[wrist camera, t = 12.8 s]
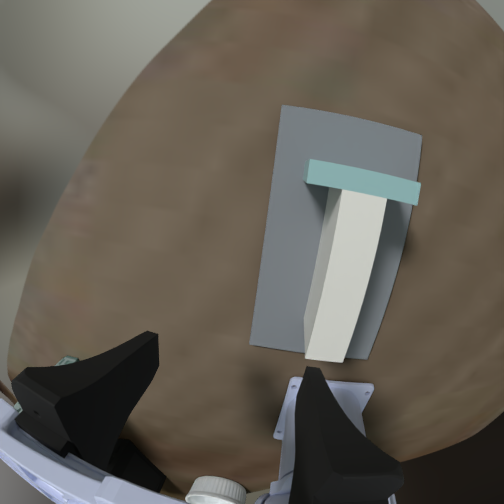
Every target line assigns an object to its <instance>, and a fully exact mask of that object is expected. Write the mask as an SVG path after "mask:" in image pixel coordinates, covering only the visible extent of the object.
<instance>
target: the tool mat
mask: <svg viewBox="0 0 504 504" xmlns="http://www.w3.org/2000/svg"><path fill="white" fill-rule="evenodd" d="M421 143H422V135H419V134H416V133H413V132H409V131H406V130H403V129H399V128H396V127H392V126H388V125H385V124H381V123H377V122H373V121H369V120H365V119H360V118H356V117H351V116H346V115H342V114H337V113H331V112H326V111H320V110H314V109H308V108H301V107H294V106H287V105H282V108H281V116H280V124H279V132H278V140H277V147H276V155H275V163H274V170H273V178H272V186H271V193H270V200H269V208H268V215H267V223H266V230H265V237H264V244H263V252H262V259H261V266H260V273H259V280H258V287H257V294H256V301H255V308H254V315H253V322H252V328H251V335H250V342H249V344H250V345H256V346H262V347H268V348H274V349H281V350H287V351H294V352H301V353H305V341H304V315H305V311H306V306H307V302H308V297H309V293H310V288H311V283H312V279H313V274H314V269H315V264H316V259H317V254H318V249H319V243H320V238H321V233H322V227H323V221H324V216H325V210H326V204H327V198H328V191H329V187H327V186H321V185H315V184H309V183H306V182H305V181H304V180H303V175H304V168H305V161H307V160H309V159H313V160H319V161H325V162H330V163H336V164H341V165H346V166H351V167H356V168H361V169H365V170H370V171H374V172H379V173H383V174H387V175H391V176H395V177H399V178H403V179H407V180H411V181H415V182H417V175H418V168H419V161H420V152H421ZM412 205H413V204H408V203H404V202H400V201H396V200H391V199H387V202H386V207H385V212H384V218H383V223H382V227H381V232H380V237H379V241H378V246H377V250H376V254H375V258H374V262H373V266H372V270H371V274H370V278H369V282H368V285H367V289H366V292H365V296H364V299H363V303H362V306H361V309H360V313H359V316H358V319H357V322H356V325H355V328H354V332H353V335H352V338H351V340H350V343H349V346H348V349H347V352H346V355H345V358H355V359H367V358H368V356H369V353H370V351H371V348H372V346H373V343H374V341H375V338H376V335H377V333H378V330H379V327H380V324H381V321H382V318H383V316H384V313H385V310H386V307H387V303H388V300H389V297H390V294H391V291H392V287H393V284H394V281H395V277H396V274H397V270H398V266H399V263H400V259H401V255H402V251H403V247H404V243H405V239H406V234H407V230H408V225H409V221H410V216H411V211H412Z"/></svg>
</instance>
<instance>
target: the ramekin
mask: <svg viewBox="0 0 504 504" xmlns="http://www.w3.org/2000/svg"><path fill="white" fill-rule="evenodd" d="M185 500H186V502H188V503H191V504H245V500H246V490H245V488H244V487H243V486H242V485H240V484H239V483H237V482H235V481H232V480H230V479H226V478H222V477H217V476H202V477H199V478H197V479H196V480H195V482H194V484H193V486H192V488H191V490H190V492H189V494H187V496H186V498H185Z"/></svg>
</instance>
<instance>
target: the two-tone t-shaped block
mask: <svg viewBox="0 0 504 504" xmlns="http://www.w3.org/2000/svg"><path fill="white" fill-rule="evenodd" d="M303 180H304V181H305V182H306V183H309V184H315V185H321V186H327V187H329V191H328V198H327V204H326V210H325V216H324V221H323V227H322V233H321V238H320V243H319V249H318V254H317V259H316V264H315V269H314V274H313V279H312V283H311V288H310V293H309V297H308V302H307V306H306V311H305V315H304V341H305V359H313V360H321V361H330V362H340V363H343V360H344V358H345V355H346V352H347V349H348V346H349V343H350V340H351V338H352V335H353V332H354V328H355V325H356V322H357V319H358V316H359V313H360V309H361V306H362V303H363V299H364V296H365V292H366V289H367V285H368V282H369V278H370V274H371V270H372V266H373V262H374V258H375V254H376V250H377V246H378V241H379V237H380V232H381V227H382V223H383V218H384V212H385V207H386V202H387V199H391V200H396V201H400V202H404V203H408V204H413V205H417V203H418V198H419V192H420V186H421V183H418V182H415V181H411V180H407V179H403V178H399V177H395V176H391V175H387V174H383V173H379V172H374V171H370V170H365V169H361V168H356V167H351V166H346V165H341V164H336V163H330V162H325V161H319V160H313V159H309V160H307V161H305V168H304V175H303Z"/></svg>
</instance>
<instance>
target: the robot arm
mask: <svg viewBox="0 0 504 504" xmlns="http://www.w3.org/2000/svg"><path fill="white" fill-rule="evenodd" d="M158 367H159V346H158V334H156V333H153V332H149V331H146V332H144V333H142V334H140V335H138V336H136V337H134V338H133V339H131V340H129V341H127V342H125V343H123V344H121V345H119V346H117V347H115V348H113V349H111V350H109V351H106V352H104V353H102V354H100V355H97V356H94V357H92V358H88V359H85V360H82V361H78V362H74V363H70V364H65V365H59V366H50V367H27V368H26V369H24V370H23V371H22V372H21V373H20V374H19V375H18V376H17V377H16V378H14V379H13V380H12V383H11V384H12V389H13V392H14V394H15V396H16V398H17V400H18V402H19V404H20V406H21V408H22V412H21V413H20V414H19V413H18V411H17V410H16V409H15V408H14V407H12V406H11V405H10V404H9V403H7V402H6V401H5V400H3V399H2V398H1V399H0V458H1V459H2V460H3V461H4V462H5V463H6V464H7V465H8V466H10V467H11V468H12V469H13V470H14V471H15V472H16V473H18V474H19V475H20V476H21V477H22V478H24V479H25V480H26V481H27V482H28V483H30V484H31V485H32V486H33V487H35V488H36V489H37V490H38V491H40V492H41V493H43V494H44V495H45V496H46V497H48V498H49V499H51V500H52V501H53V502H55V503H56V504H191V503H188V502H185V501H182V500H179V499H175V498H172V497H169V496H166V495H163V494H160V493H157V492H154V491H152V490H149V489H146V488H144V487H141V486H139V485H136V484H134V483H131V482H129V481H126V480H124V479H121V478H118V477H115V476H113V475H111V474H109V473H107V472H105V471H106V468H107V465H108V462H109V459H110V457H111V454H112V452H113V449H114V447H115V444H116V442H117V440H118V437H119V435H120V433H121V431H122V429H123V427H124V425H125V422H126V420H127V418H128V417H129V415H130V413H131V411H132V410H133V408H134V407H135V405H136V404H137V402H138V401H139V400H140V398H141V397H142V395H143V394H144V392H145V391H146V389H147V388H148V386H149V385H150V383H151V381H152V380H153V378H154V376H155V373H156V371H157V369H158ZM293 385H296V386H293ZM373 391H374V385H373V384H371V383H354V382H341V381H329V380H325V378H324V376H323V374H322V372H321V370H320V368H315V367H308V366H307V367H306V370H305V373H304V376H303V378H302V377H292V378H291V379H290V382H289V385H288V389H287V392H286V395H285V399H284V402H283V406H282V409H281V412H280V415H279V419H278V422H277V425H276V428H275V431H274V435H273V437H274V438H275V439H280V440H282V450H281V460H280V470H279V480H278V481H274V482H271V487H270V493H267V494H263V495H261V496H260V497H259V498H258V499H257V500H256V501H255V503H254V504H396V500H395V495H394V493H395V492H396V491H397V490H398V489H399V488H400V487H401V486H402V485H403V483H404V477H403V472H402V468H401V465H400V462H399V461H397V460H395V459H394V458H392V457H391V456H389V455H388V454H386V453H385V452H383V451H382V450H381V449H379V448H378V447H377V446H375V445H374V444H373V443H372V442H371V441H370V440H368V439H367V438H366V434H365V428H364V423H363V418H362V412H363V410H364V408H365V406H366V404H367V402H368V400H369V398H370V396H371V394H372V393H373ZM366 392H367V393H366Z"/></svg>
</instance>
